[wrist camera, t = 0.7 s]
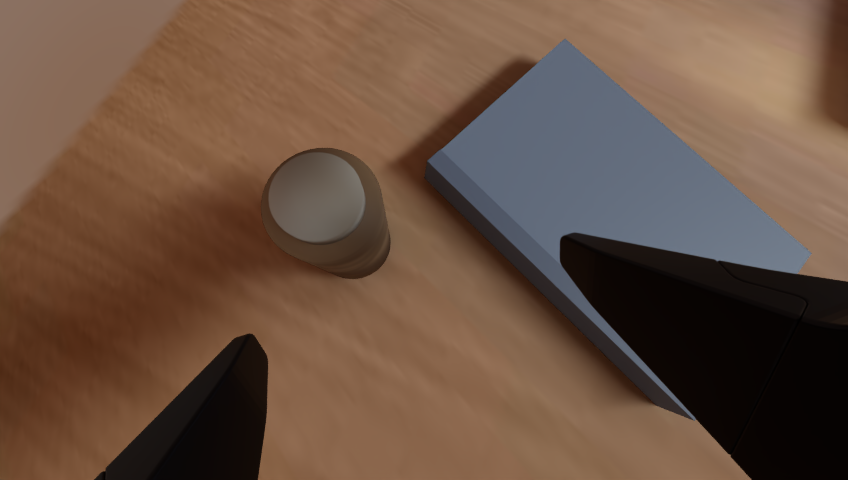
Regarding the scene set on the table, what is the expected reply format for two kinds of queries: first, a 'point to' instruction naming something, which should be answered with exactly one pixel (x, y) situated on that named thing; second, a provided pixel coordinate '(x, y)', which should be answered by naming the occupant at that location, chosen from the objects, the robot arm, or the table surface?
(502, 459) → the table surface
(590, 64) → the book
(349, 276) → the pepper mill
